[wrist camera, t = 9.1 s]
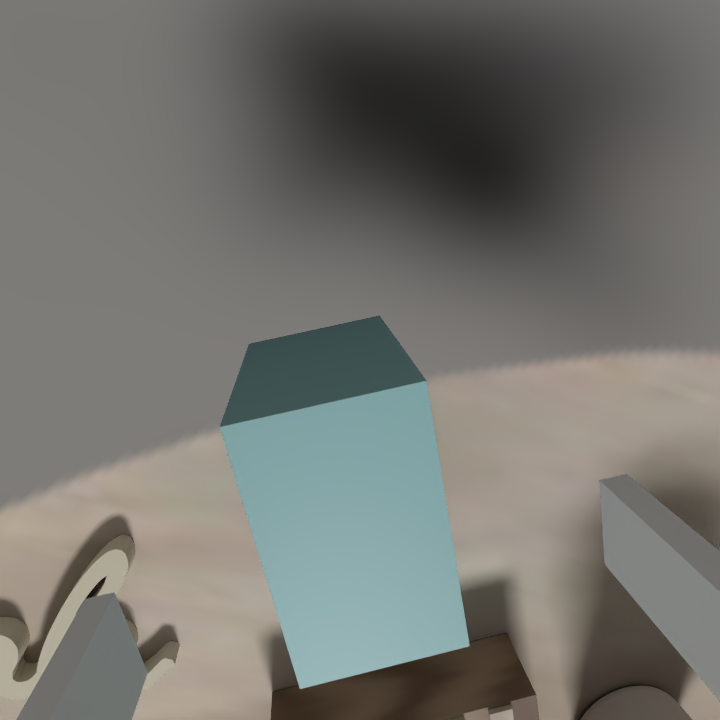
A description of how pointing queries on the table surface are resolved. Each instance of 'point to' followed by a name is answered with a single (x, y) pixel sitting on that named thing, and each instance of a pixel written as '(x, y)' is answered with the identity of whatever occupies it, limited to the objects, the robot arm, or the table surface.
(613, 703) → the coffee cup
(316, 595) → the light teal block
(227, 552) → the table surface
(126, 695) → the robot arm
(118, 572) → the decorative sign
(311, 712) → the brown block
